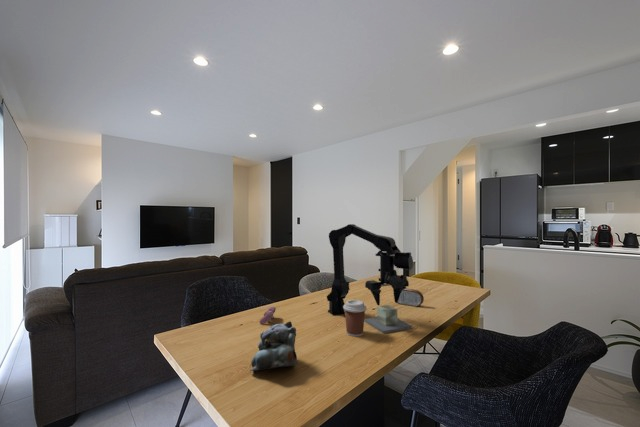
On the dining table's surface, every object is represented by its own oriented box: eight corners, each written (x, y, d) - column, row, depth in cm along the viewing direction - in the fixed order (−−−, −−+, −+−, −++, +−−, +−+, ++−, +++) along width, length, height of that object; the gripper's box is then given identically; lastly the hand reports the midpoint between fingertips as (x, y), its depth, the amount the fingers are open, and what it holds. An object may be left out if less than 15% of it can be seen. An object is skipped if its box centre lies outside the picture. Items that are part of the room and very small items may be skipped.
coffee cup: (366, 339, 102) (366, 306, 103) (341, 336, 104) (341, 305, 104) (367, 329, 111) (366, 299, 111) (344, 327, 113) (344, 298, 113)
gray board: (383, 333, 107) (383, 330, 107) (364, 321, 120) (364, 318, 120) (411, 328, 113) (411, 325, 113) (390, 317, 125) (390, 314, 125)
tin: (423, 306, 141) (423, 290, 141) (422, 308, 138) (422, 291, 138) (394, 302, 149) (394, 286, 149) (393, 303, 146) (393, 287, 146)
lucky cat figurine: (240, 371, 80) (246, 321, 87) (269, 371, 89) (272, 325, 96) (279, 370, 73) (282, 315, 80) (306, 370, 81) (306, 320, 88)
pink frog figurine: (267, 328, 116) (275, 313, 116) (258, 323, 116) (265, 308, 116) (272, 320, 126) (278, 306, 126) (263, 315, 126) (270, 301, 126)
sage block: (385, 325, 112) (385, 310, 112) (377, 320, 118) (377, 306, 118) (397, 323, 115) (397, 309, 115) (388, 318, 120) (388, 305, 120)
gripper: (380, 271, 106) (380, 312, 105) (417, 268, 113) (418, 306, 113) (364, 267, 116) (364, 304, 115) (399, 264, 123) (400, 299, 123)
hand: (387, 303), depth 116 cm, fingers open, 9 cm apart
